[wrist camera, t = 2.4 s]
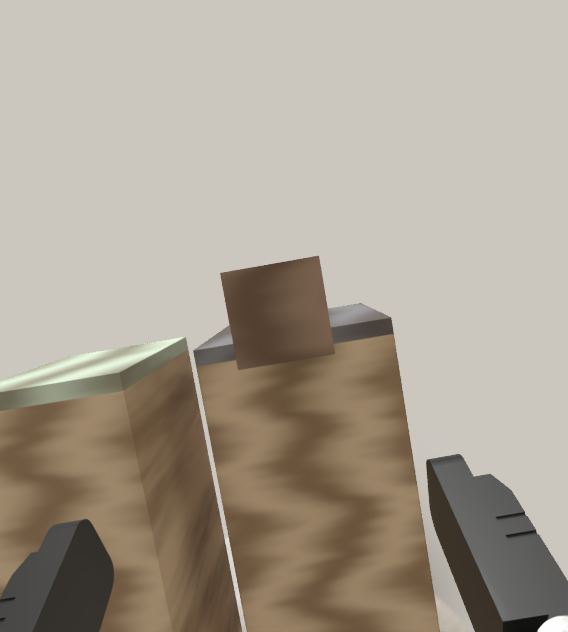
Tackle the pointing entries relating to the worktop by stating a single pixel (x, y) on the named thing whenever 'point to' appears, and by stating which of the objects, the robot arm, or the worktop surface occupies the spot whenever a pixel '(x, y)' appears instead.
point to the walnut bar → (278, 313)
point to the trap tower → (320, 484)
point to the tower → (120, 482)
